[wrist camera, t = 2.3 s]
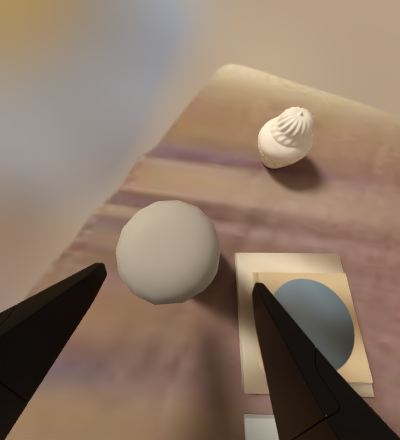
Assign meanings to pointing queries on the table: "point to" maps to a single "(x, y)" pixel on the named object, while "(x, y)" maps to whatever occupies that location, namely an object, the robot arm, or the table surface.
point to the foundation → (302, 313)
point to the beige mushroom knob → (168, 252)
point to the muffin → (286, 138)
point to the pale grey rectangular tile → (260, 427)
